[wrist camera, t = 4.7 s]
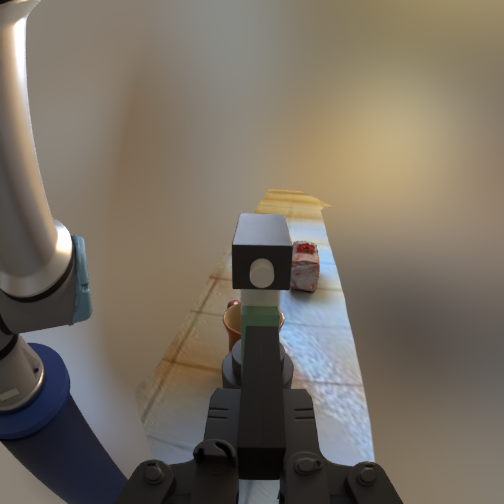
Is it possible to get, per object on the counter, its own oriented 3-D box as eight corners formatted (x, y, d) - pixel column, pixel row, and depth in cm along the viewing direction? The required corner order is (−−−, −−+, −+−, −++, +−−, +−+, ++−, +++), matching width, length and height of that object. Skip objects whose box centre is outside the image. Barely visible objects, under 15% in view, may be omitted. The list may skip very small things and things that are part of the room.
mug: (290, 374, 44) (296, 324, 40) (240, 394, 40) (239, 343, 36) (253, 335, 54) (254, 287, 50) (209, 348, 50) (205, 299, 46)
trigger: (274, 385, 22) (279, 315, 20) (241, 384, 22) (240, 314, 20) (273, 375, 23) (278, 305, 21) (242, 374, 23) (241, 305, 21)
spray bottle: (283, 477, 27) (325, 254, 16) (224, 476, 27) (199, 251, 17) (281, 418, 36) (302, 210, 25) (230, 417, 36) (220, 208, 25)
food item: (319, 295, 68) (324, 256, 64) (285, 293, 68) (287, 253, 65) (315, 269, 80) (318, 235, 76) (286, 268, 81) (288, 233, 77)
